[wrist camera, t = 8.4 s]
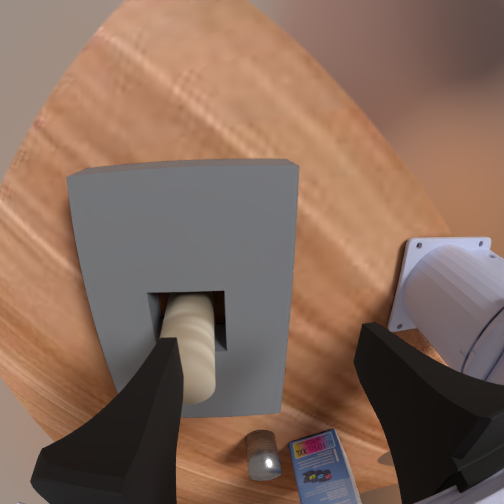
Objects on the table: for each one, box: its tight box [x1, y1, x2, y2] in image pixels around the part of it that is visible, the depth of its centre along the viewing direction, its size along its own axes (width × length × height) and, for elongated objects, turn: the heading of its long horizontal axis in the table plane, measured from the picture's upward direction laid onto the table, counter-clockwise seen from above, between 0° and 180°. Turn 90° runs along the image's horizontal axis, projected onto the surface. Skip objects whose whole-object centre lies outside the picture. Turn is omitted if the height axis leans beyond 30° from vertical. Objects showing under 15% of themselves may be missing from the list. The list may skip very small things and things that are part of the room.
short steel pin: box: [245, 430, 282, 481], centre depth 26 cm, size 3×3×4 cm
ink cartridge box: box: [289, 429, 362, 504], centre depth 24 cm, size 10×6×14 cm, turn 22°
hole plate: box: [67, 159, 299, 418], centre depth 20 cm, size 12×18×3 cm, turn 0°
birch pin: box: [160, 291, 216, 405], centre depth 17 cm, size 3×3×8 cm
